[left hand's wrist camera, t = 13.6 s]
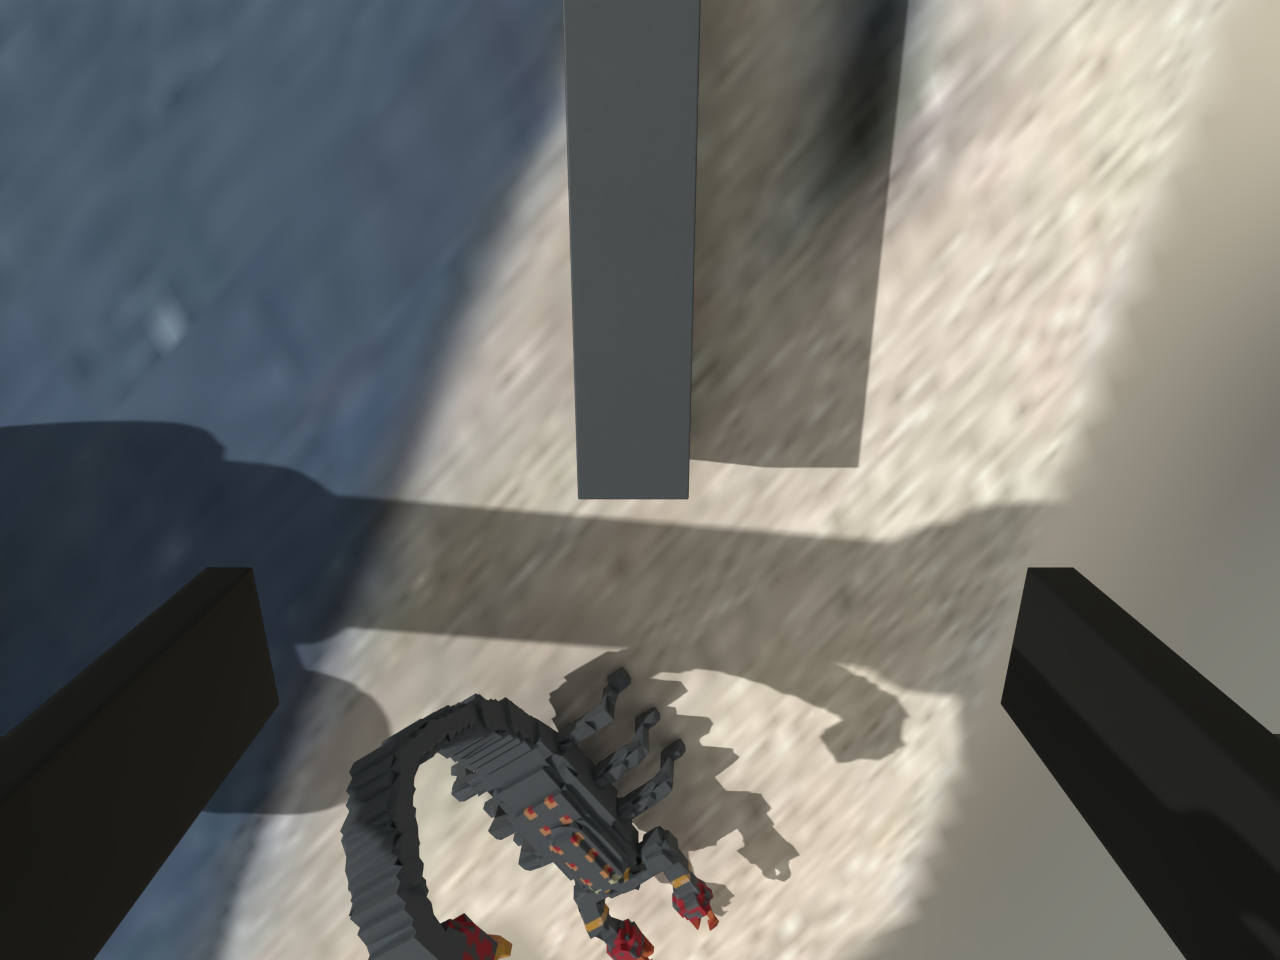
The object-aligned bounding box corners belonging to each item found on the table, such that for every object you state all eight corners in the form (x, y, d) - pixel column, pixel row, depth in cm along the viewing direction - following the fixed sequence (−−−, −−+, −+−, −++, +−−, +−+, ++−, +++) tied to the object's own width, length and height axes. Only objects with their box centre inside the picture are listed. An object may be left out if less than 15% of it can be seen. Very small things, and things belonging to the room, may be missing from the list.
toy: (533, 556, 43) (462, 792, 26) (770, 852, 50) (838, 1186, 33) (357, 667, 45) (185, 949, 28) (608, 933, 53) (593, 1282, 36)
